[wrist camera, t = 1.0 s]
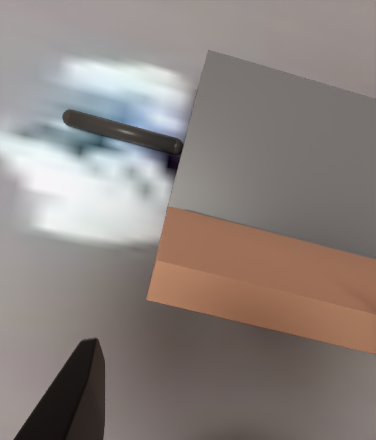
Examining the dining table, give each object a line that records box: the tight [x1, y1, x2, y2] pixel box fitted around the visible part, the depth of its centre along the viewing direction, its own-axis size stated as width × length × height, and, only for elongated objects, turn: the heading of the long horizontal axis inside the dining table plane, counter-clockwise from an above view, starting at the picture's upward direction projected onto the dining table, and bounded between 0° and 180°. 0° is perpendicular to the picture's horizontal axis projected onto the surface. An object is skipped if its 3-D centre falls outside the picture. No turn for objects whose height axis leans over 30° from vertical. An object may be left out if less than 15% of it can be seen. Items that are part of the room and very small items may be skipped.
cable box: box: [62, 50, 376, 258], centre depth 25 cm, size 10×29×6 cm, turn 76°
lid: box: [146, 206, 376, 354], centre depth 16 cm, size 11×20×1 cm
